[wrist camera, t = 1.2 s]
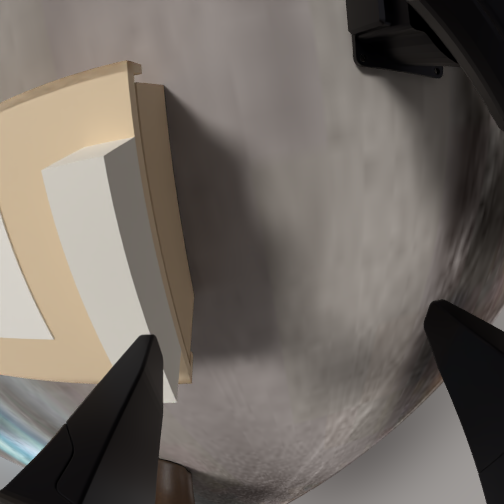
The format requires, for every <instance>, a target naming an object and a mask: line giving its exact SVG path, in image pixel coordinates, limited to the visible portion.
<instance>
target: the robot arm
mask: <svg viewBox="0 0 504 504" xmlns="http://www.w3.org/2000/svg"><path fill="white" fill-rule="evenodd" d="M346 8H347V20H348V31H349V32H350V33H351V35H352V43H353V59H354V62H355V63H356V64H357V65H358V66H362V67H371V68H379V69H386V70H393V71H399V72H405V73H411V74H417V75H422V76H427V77H432V78H441V77H442V75H443V66H452V67H461V68H462V69H463V71H464V72H465V73H466V75H467V76H468V78H469V79H470V81H471V82H472V84H473V85H474V87H475V89H476V90H477V92H478V93H479V95H480V97H481V98H482V100H483V102H484V103H485V105H486V107H487V108H488V110H489V112H490V114H491V115H492V117H493V119H494V120H495V122H496V124H497V125H498V127H499V128H500V129H501V130H502V131H504V0H346ZM360 55H363V56H364V58H365V61H364V62H362V61H361V60H360ZM435 69H436V71H437V73H435V71H434V70H435ZM424 330H425V332H426V335H427V338H428V340H429V343H430V346H431V349H432V352H433V355H434V358H435V361H436V363H437V366H438V369H439V371H440V374H441V376H442V378H443V380H444V383H445V385H446V387H447V390H448V392H449V394H450V397H451V399H452V402H453V404H454V407H455V409H456V412H457V414H458V417H459V419H460V422H461V425H462V427H463V430H464V433H465V435H466V438H467V441H468V444H469V447H470V449H471V452H472V455H473V458H474V461H475V465H476V467H477V471H478V473H479V478H480V481H481V485H482V488H483V492H484V496H485V499H486V503H487V504H504V332H503V331H502V330H500V329H498V328H496V327H494V326H493V325H491V324H489V323H487V322H485V321H484V320H482V319H480V318H478V317H476V316H474V315H472V314H470V313H469V312H467V311H465V310H463V309H461V308H459V307H457V306H455V305H453V304H452V303H450V302H448V301H446V300H443V299H440V300H436V301H433V302H431V304H430V306H429V309H428V312H427V314H426V317H425V320H424ZM162 419H163V355H162V352H161V349H160V346H159V343H158V340H157V337H156V336H155V335H154V334H144V335H140V336H139V337H138V338H137V339H136V340H135V341H134V342H133V343H132V345H131V346H130V347H129V348H128V349H127V350H126V352H125V353H124V354H123V355H122V356H121V357H120V358H119V360H118V361H117V362H116V363H115V364H114V365H113V367H112V368H111V369H110V370H109V371H108V372H107V374H106V375H105V376H104V377H103V378H102V380H101V381H100V382H99V383H98V384H97V385H96V387H95V388H94V389H93V390H92V391H91V393H90V394H89V395H88V396H87V397H86V398H85V400H84V401H83V402H82V403H81V404H80V406H79V407H78V408H77V409H76V410H75V412H74V413H73V414H72V415H71V417H70V418H69V419H68V420H67V421H66V424H64V425H63V426H62V427H61V429H60V430H59V431H58V432H57V433H56V435H55V436H54V437H53V438H52V439H51V440H50V442H49V443H48V444H47V445H46V446H45V447H44V448H43V449H42V450H41V451H40V452H39V453H38V455H37V456H36V457H35V458H34V459H33V460H32V461H31V462H30V463H29V464H28V465H27V466H26V467H25V468H24V469H23V470H22V471H21V472H20V473H19V474H18V475H17V476H16V477H15V478H14V479H13V480H12V481H11V482H9V484H7V485H6V486H5V487H4V488H3V489H1V490H0V504H155V496H156V482H157V470H158V458H159V447H160V437H161V428H162Z"/></svg>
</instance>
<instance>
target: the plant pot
mask: <svg viewBox="0 0 504 504" xmlns="http://www.w3.org/2000/svg"><path fill="white" fill-rule="evenodd" d="M155 504H195V501H194V493H193V485H192V475H191V473H190V472H187V470H186V468H185V467H183V466H180V465H178V464H175V463H172V462H170V461H166V460H162V459H158V470H157V482H156V496H155Z"/></svg>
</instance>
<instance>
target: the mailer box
mask: <svg viewBox="0 0 504 504" xmlns="http://www.w3.org/2000/svg"><path fill="white" fill-rule="evenodd" d="M134 84H135V94H136V104H137V113H138V121H139V129H140V137H141V144H142V151H143V158H144V164H145V171H146V177H147V183H148V189H149V194H150V200H151V205H152V211H153V216H154V221H155V226H156V231H157V236H158V241H159V246H160V250H161V255H162V260H163V264H164V268H165V273H166V277H167V281H168V285H169V290H170V294H171V298H172V302H173V306H174V310H175V313H176V317H177V321H178V325H179V328H180V332H181V336H182V339H183V343H184V346H185V350H186V353H187V357H188V360H190V348H191V333H192V319H193V306H194V292H193V287H192V281H191V276H190V271H189V266H188V260H187V255H186V249H185V243H184V237H183V231H182V225H181V219H180V213H179V206H178V200H177V193H176V186H175V179H174V172H173V165H172V157H171V149H170V141H169V132H168V124H167V114H166V105H165V94H164V85H158V84H148V83H137V82H136V83H134Z"/></svg>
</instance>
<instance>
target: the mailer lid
mask: <svg viewBox="0 0 504 504" xmlns="http://www.w3.org/2000/svg"><path fill="white" fill-rule="evenodd" d="M138 74H142V70H141V65H140V64H137V63H134V62H131V61H127V60H126V61H121V62H117V63H113V64H109V65H105V66H101V67H97V68H94V69H90V70H87V71H83V72H80V73H77V74H74V75H70V76H67V77H64V78H61V79H58V80H55V81H53V82H50V83H47V84H44V85H42V86H39V87H36V88H34V89H31V90H29V91H26V92H24V93H22V94H19V95H17V96H14V97H12V98H10V99H8V100H5V101H3V102H1V103H0V375H6V376H13V377H21V378H29V379H37V380H47V381H58V382H70V383H86V384H98V383H99V382H100V381H101V380H102V378H103V377H104V376H105V375H106V374H107V372H108V371H109V370H110V369H111V368H112V367H113V365H114V364H115V363H116V362H117V361H118V360H119V358H120V357H121V356H122V355H123V354H124V353H125V352H126V350H127V349H128V348H129V347H130V346H131V345H132V343H133V342H134V341H135V340H136V339H137V338H138V337H139V336H140V335H144V334H154V335H155V336H156V337H157V340H158V343H159V346H160V349H161V352H162V355H163V403H177V395H178V384H191V383H192V367H193V354H192V352H190V360H188V357H187V353H186V350H185V346H184V343H183V339H182V336H181V332H180V328H179V325H178V321H177V317H176V313H175V310H174V306H173V302H172V298H171V294H170V290H169V285H168V281H167V277H166V273H165V268H164V264H163V260H162V255H161V250H160V246H159V241H158V236H157V231H156V226H155V221H154V216H153V211H152V205H151V200H150V194H149V189H148V183H147V177H146V171H145V164H144V158H143V151H142V144H141V137H140V129H139V121H138V113H137V104H136V94H135V84H134V75H138Z"/></svg>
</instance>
